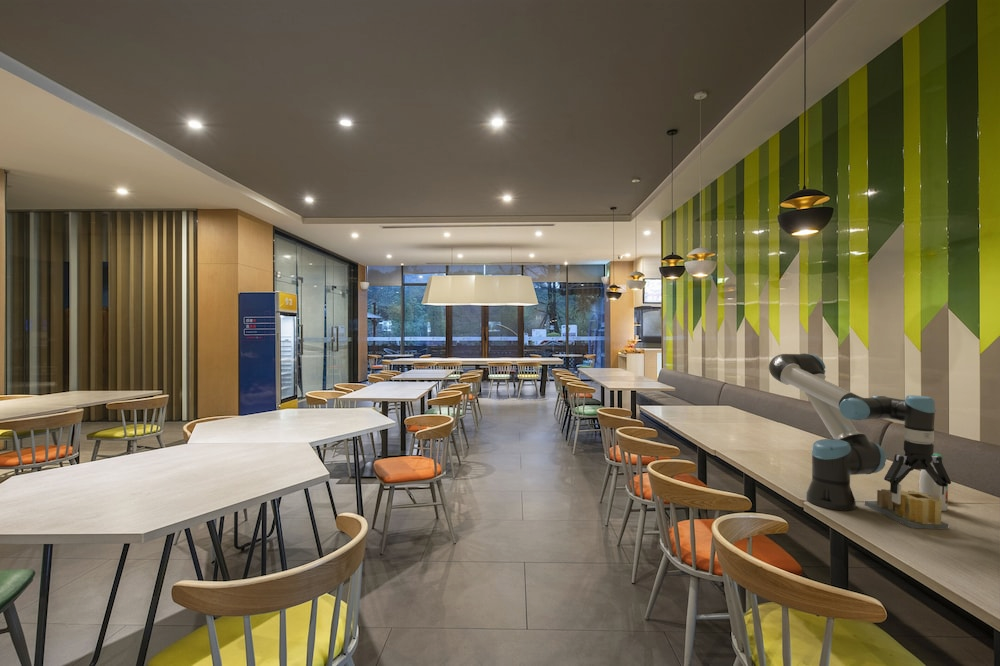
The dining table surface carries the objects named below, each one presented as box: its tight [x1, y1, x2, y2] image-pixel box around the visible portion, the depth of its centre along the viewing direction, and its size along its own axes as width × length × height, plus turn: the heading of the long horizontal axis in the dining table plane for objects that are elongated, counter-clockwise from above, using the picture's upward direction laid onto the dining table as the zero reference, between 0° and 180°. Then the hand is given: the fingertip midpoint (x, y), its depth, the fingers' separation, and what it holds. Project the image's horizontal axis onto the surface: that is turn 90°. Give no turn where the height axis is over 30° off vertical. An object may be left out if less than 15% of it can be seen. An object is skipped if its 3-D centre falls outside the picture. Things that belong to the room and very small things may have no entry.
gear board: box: [864, 488, 949, 530], centre depth 161 cm, size 12×20×7 cm, turn 178°
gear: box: [895, 490, 942, 525], centre depth 156 cm, size 10×10×8 cm
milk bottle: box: [918, 452, 949, 512], centre depth 170 cm, size 8×8×20 cm
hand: (916, 503), depth 156 cm, fingers open, 13 cm apart
